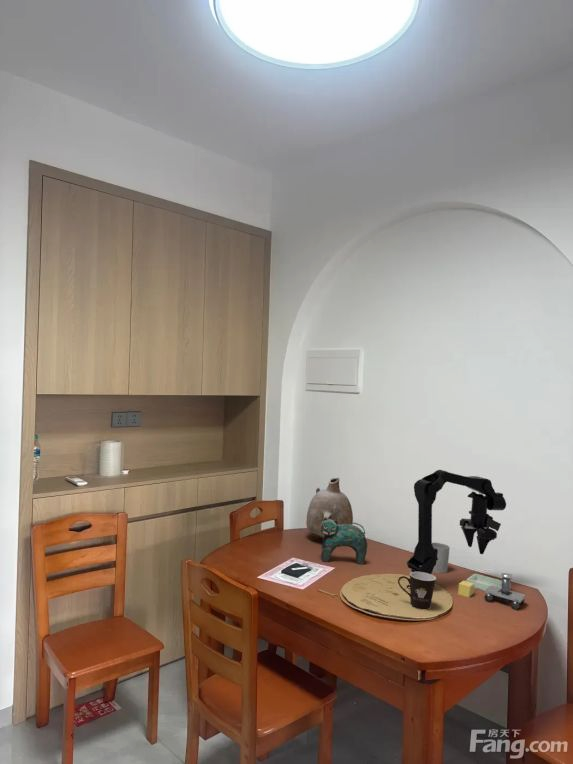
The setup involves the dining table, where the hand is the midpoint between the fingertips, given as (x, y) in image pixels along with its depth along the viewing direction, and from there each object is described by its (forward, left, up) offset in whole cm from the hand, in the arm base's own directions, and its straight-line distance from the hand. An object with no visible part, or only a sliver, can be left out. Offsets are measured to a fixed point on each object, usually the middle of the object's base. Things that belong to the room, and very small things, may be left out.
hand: (475, 550), depth 211 cm
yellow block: (-12, -1, -14) cm, 18 cm away
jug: (+6, +69, -14) cm, 71 cm away
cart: (-8, -14, -14) cm, 21 cm away
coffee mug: (-36, +8, -14) cm, 40 cm away
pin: (-8, -14, -14) cm, 21 cm away
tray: (+3, -5, -14) cm, 15 cm away
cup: (+8, +17, -14) cm, 23 cm away
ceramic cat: (-16, +49, -14) cm, 53 cm away
